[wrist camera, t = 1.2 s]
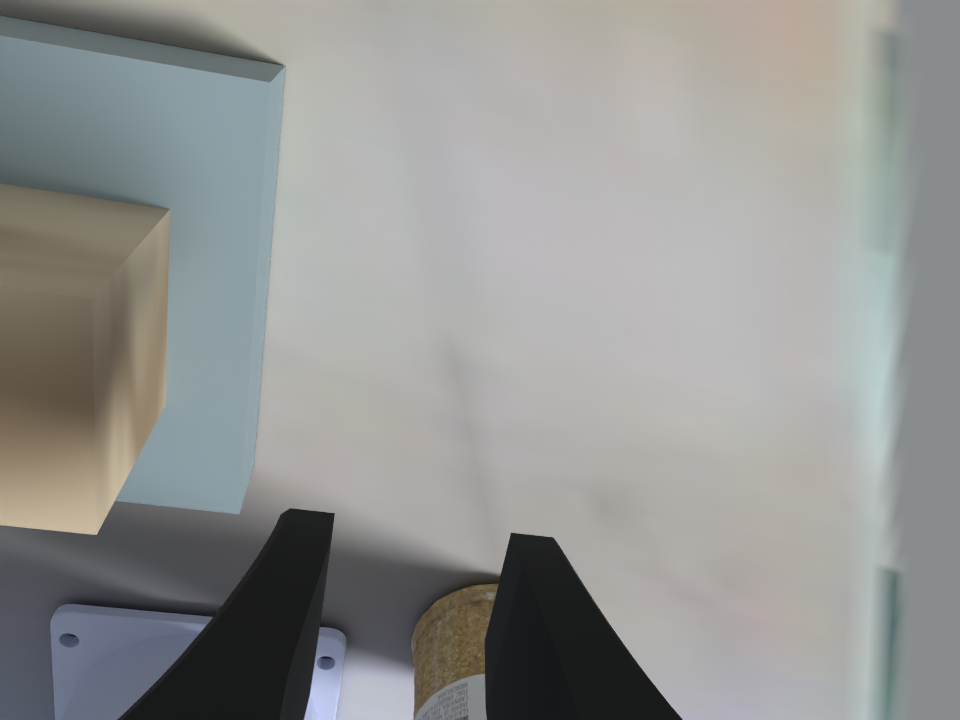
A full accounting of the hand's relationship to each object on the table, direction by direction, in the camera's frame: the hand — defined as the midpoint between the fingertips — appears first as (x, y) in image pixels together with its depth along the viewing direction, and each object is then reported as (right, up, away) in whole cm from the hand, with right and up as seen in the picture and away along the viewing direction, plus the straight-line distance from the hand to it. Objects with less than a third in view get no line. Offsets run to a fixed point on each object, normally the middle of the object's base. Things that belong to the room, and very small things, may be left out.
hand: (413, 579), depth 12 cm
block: (-8, +4, +6) cm, 11 cm away
